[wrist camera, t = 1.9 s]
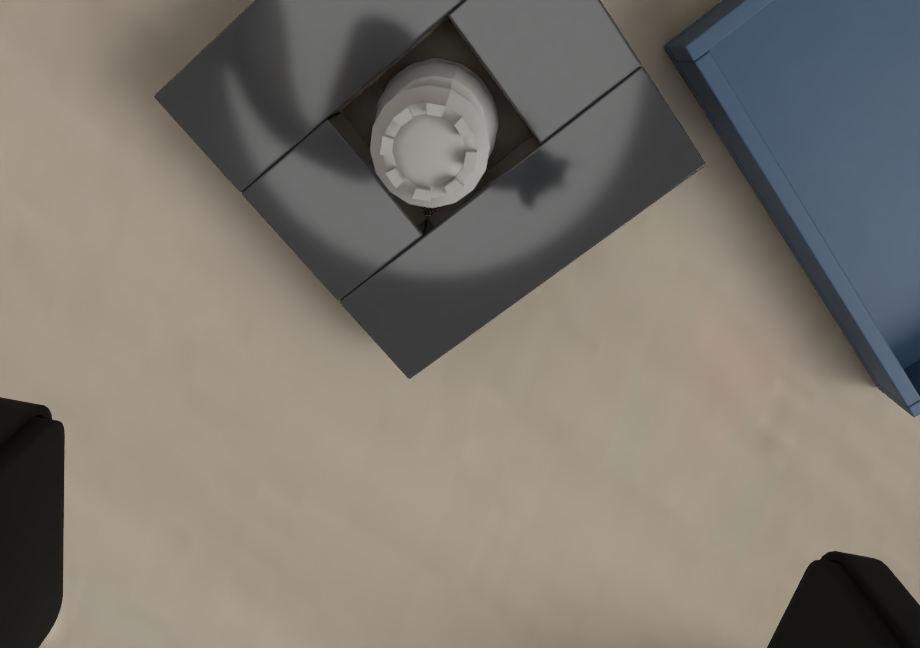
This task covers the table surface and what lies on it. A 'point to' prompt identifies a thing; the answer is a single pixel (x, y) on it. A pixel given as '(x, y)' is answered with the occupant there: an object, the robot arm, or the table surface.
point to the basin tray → (828, 153)
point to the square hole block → (454, 225)
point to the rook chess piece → (433, 132)
